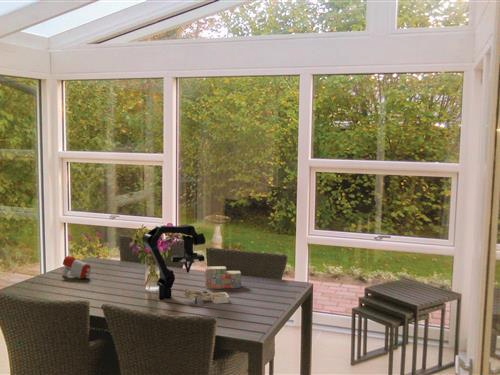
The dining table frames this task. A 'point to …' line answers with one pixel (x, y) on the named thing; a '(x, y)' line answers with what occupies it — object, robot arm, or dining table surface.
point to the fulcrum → (198, 301)
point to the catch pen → (220, 297)
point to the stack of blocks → (222, 278)
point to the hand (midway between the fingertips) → (187, 272)
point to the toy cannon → (76, 268)
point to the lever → (194, 295)
